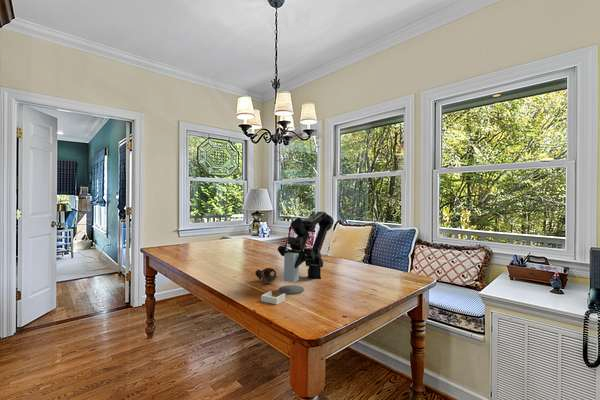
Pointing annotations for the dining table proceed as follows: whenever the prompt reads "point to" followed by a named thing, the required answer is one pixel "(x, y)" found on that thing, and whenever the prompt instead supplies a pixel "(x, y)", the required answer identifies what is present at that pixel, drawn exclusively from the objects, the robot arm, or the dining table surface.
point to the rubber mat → (291, 289)
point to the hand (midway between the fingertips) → (290, 267)
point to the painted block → (291, 267)
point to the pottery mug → (266, 275)
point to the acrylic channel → (272, 298)
